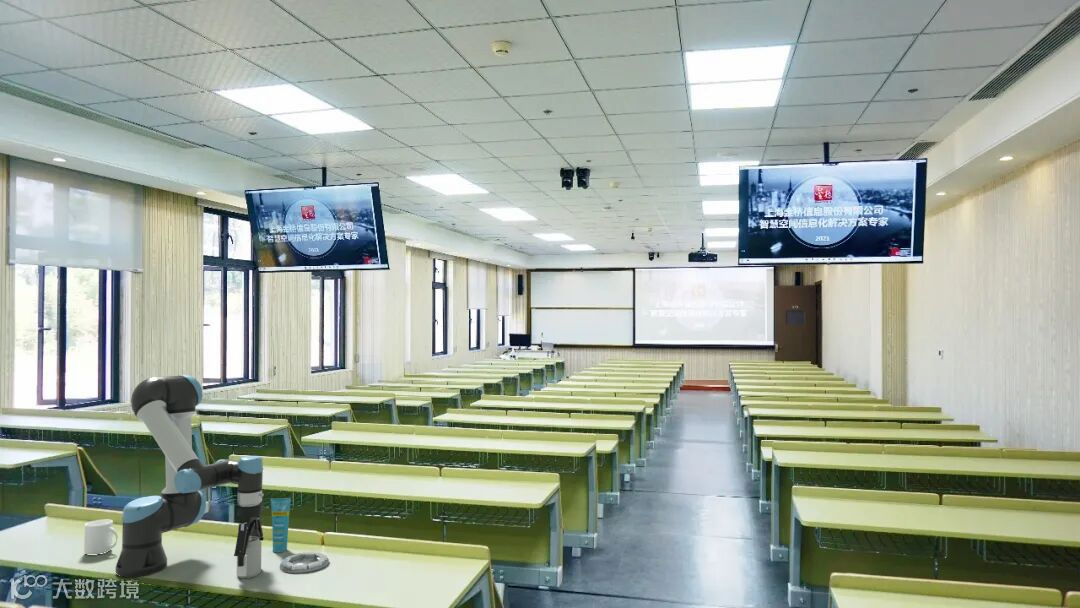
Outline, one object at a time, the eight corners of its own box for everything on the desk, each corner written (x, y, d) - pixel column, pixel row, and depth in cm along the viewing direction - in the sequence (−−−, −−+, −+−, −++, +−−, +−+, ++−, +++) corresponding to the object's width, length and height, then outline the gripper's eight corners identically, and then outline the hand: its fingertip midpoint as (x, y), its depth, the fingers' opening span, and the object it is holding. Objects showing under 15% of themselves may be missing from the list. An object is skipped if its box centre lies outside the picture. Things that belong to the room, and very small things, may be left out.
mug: (107, 557, 240) (107, 527, 240) (78, 555, 242) (78, 525, 242) (125, 549, 248) (126, 520, 248) (97, 547, 250) (98, 518, 251)
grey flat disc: (273, 574, 224) (273, 568, 224) (287, 557, 240) (287, 552, 240) (322, 572, 225) (322, 566, 225) (333, 556, 241) (333, 550, 241)
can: (251, 580, 219) (252, 542, 219) (231, 578, 220) (232, 541, 221) (265, 571, 226) (266, 535, 226) (245, 570, 228) (246, 534, 228)
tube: (267, 553, 244) (268, 500, 245) (271, 548, 249) (272, 496, 250) (289, 552, 246) (289, 499, 246) (292, 547, 250) (292, 496, 251)
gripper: (248, 513, 212) (247, 582, 211) (273, 494, 237) (272, 554, 236) (223, 514, 211) (222, 582, 210) (251, 494, 236) (250, 555, 235)
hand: (248, 568), depth 223 cm, fingers open, 13 cm apart
